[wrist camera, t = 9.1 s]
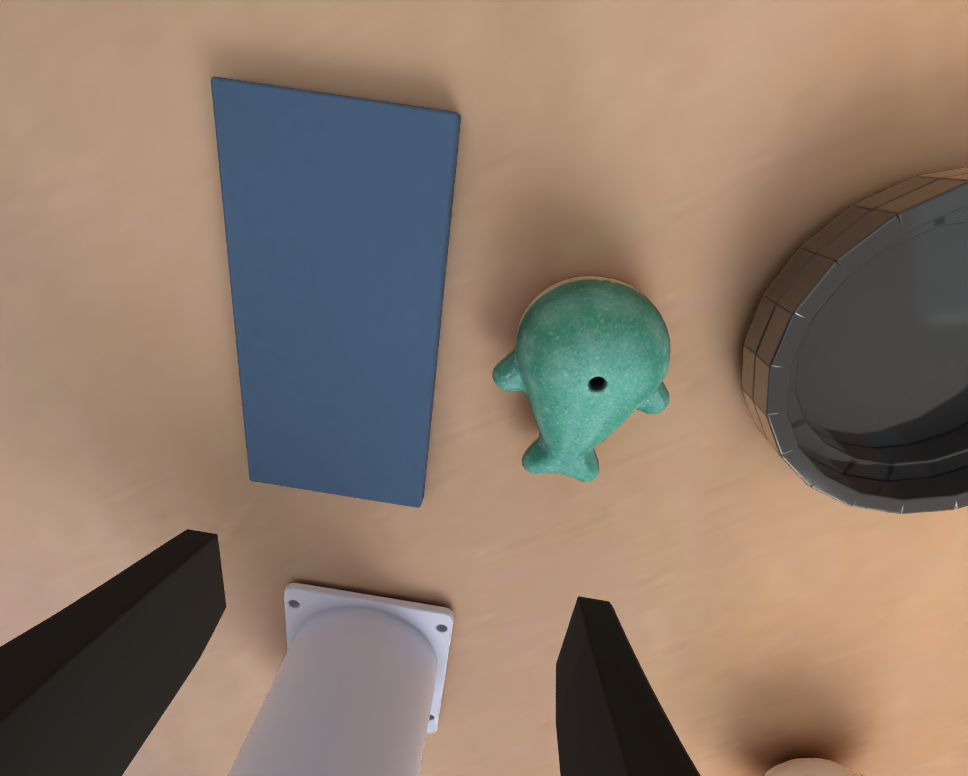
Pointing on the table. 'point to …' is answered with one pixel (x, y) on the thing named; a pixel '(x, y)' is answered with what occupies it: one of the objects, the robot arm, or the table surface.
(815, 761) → the seamed sphere
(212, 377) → the table surface
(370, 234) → the blue flat rectangular slab
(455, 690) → the table surface
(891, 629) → the table surface
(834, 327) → the dish
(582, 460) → the whale figurine
